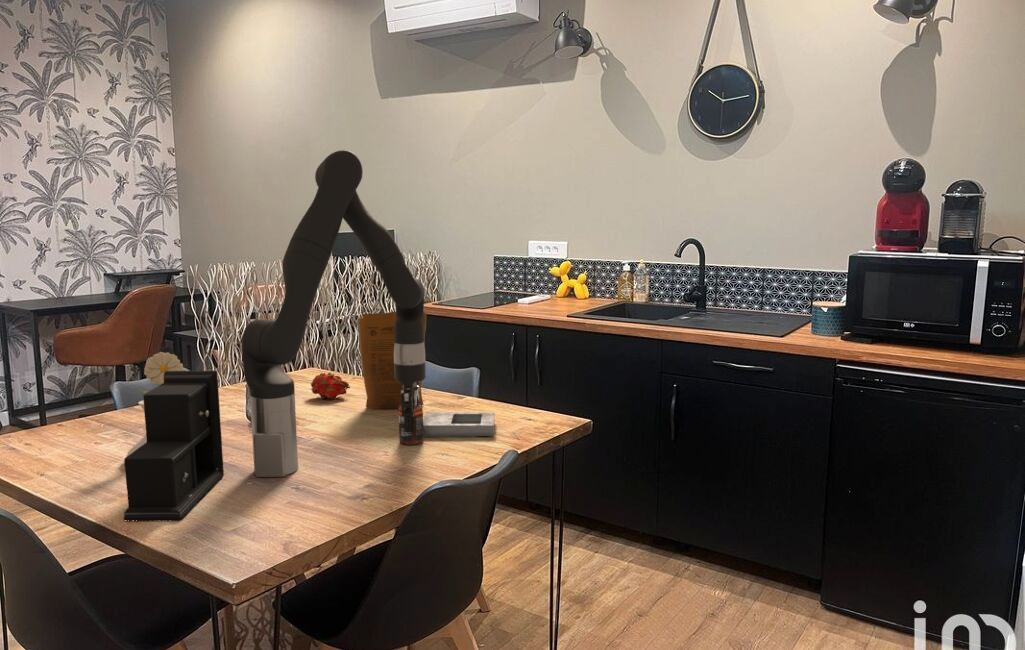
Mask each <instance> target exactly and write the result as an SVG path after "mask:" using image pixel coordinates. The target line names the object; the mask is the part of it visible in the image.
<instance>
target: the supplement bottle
mask: <svg viewBox="0 0 1025 650" xmlns="http://www.w3.org/2000/svg"><path fill="white" fill-rule="evenodd" d="M418 402H419V401H418V396H417V405H416V408H414V431H413V432H405V429H404V417H402V405H401V406H400V407H399V409H397V410H398V433H399V434H398V435H399V436H398V438H399V442H400V444H403V445H407V446H408V445H409V446H411V445H412V446H413V445H419V444H421V443H423V442H424V439H425V437H424V434H423V420H424V413H423V412H424V410H423V406H421V405H420V404H419V403H418ZM413 403H414V402H413ZM406 411H410V408H406Z"/></svg>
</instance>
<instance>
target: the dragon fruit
mask: <svg viewBox="0 0 1025 650" xmlns="http://www.w3.org/2000/svg"><path fill="white" fill-rule="evenodd" d="M310 386H311V389H310V390H311V393H312V394H315V395H318V396H320V398H321V399H322V400H324V399H325V398H328V399H331V400H334V401H335V399H336V400H339V399H342V397H341V396H342V395H347V390H348V389H350V388H351V387H350V384H349V383H348V382H347V381H345V380H343V379H342V378H341V376H339V375H336V374H335V373H331V372H328V373H326V372H324V373H323V372H321V373H319V374H317V375H315V377H314V378H313V379H312V382H311V383H310ZM337 396H339V397H337Z"/></svg>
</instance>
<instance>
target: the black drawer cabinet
mask: <svg viewBox="0 0 1025 650" xmlns="http://www.w3.org/2000/svg"><path fill="white" fill-rule="evenodd" d="M219 393H220V392H219V380H218V371H217V370H182V371H165V373H164V383H163V384H160V385H157V386H155V387H154V388H153V389H151V390H149V391H148V392H147V393H143V395H142V396H143V400H144V410H143V413H144V422H145V435H146V437H147V442H146V443H145V444H144V445H142V446H141V447H139V448H138V449H137V450H135V451H134V452H133V453H131V454H130V455H129V456H127V455H126V457H125V458H124V471H125V472H124V473H125V485H126V492H127V495H126V496H127V503H128V506H127V508H126V509H125V511H124V513H123V521H124V520H127V521H126V522H158V521H157V520H161V521H160V522H163V521H162V520H167V521H166V522H180V520H181V521H182V520H184V519H185V517H187V515H188V514H189V513H191V511H192V510H193V509H194V508H195V507H196V506H197V505H198V503H200V501H201V500H203V498H204V497H205V496H206V495H207V494H208V493H210V491H211V490H212V489H213V488H214V487H215V486H216V484H218V482H220V480H221V479H222V478H224V475H225V473H224V471H225V470H224V459H223V458H224V456H223V440H222V439H223V438H222V427H221V426H222V423H221V410H220V409H221V408H220V397H219V396H220V395H219ZM183 518H184V519H183ZM128 520H129V521H128ZM132 520H134V521H132ZM136 520H137V521H136ZM150 520H151V521H150ZM154 520H156V521H154ZM169 520H171V521H169Z"/></svg>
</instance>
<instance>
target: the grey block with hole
mask: <svg viewBox="0 0 1025 650" xmlns="http://www.w3.org/2000/svg"><path fill="white" fill-rule="evenodd" d="M495 414H496V412H487V411H486V412H477V411H476V412H474V411H473V412H470V411H469V412H453V411H451V412H445V411H443V412H442V411H441V412H437V411H436V412H430V411H429V412H426V414H425V416H424V417H423V434H424V437H423V438H466V437H465V436H468V437H467V438H471V437H470V436H494V435H495V425H494V424H495V421H496V419H495V416H496V415H495Z"/></svg>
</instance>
